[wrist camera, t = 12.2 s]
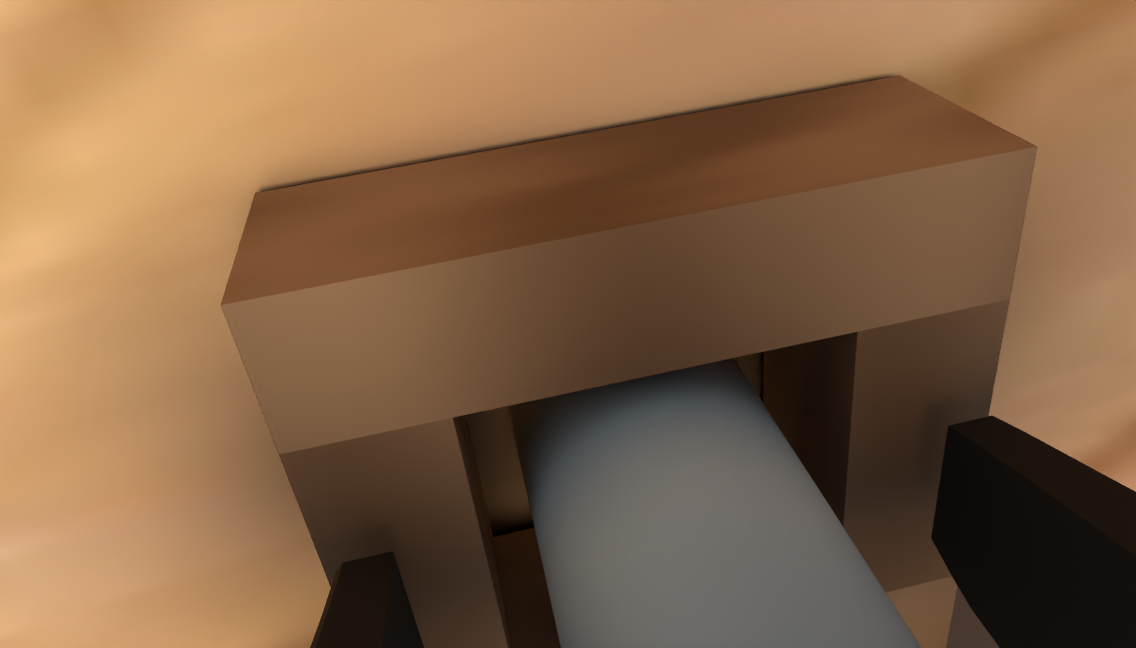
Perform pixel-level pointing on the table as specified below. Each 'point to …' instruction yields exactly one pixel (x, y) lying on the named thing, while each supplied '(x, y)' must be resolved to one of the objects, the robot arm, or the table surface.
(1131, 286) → the table surface
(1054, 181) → the table surface
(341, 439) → the brown square frame
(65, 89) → the table surface
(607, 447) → the dowel
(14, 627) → the table surface
